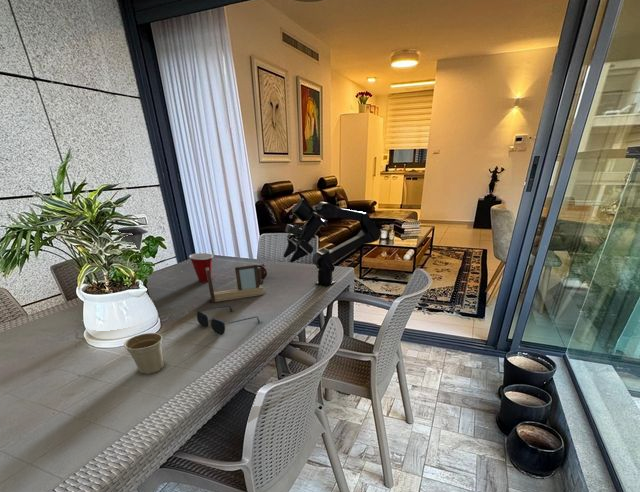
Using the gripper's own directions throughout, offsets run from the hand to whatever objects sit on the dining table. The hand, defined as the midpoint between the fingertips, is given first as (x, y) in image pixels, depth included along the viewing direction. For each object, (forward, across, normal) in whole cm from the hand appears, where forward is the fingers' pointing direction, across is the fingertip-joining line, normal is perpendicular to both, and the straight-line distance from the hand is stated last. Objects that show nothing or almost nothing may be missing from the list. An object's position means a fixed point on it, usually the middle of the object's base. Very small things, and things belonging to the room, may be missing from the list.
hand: (287, 259), depth 148 cm
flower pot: (+47, +48, -31) cm, 74 cm away
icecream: (+15, -20, +3) cm, 25 cm away
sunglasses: (+30, +26, -13) cm, 42 cm away
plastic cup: (+32, -30, -15) cm, 46 cm away
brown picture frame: (+20, 0, -4) cm, 21 cm away
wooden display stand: (+24, 0, -7) cm, 26 cm away
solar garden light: (+48, -4, -32) cm, 58 cm away
